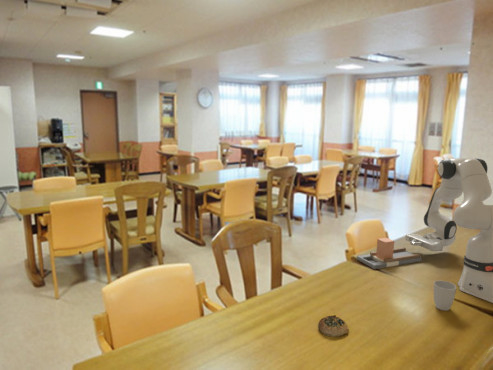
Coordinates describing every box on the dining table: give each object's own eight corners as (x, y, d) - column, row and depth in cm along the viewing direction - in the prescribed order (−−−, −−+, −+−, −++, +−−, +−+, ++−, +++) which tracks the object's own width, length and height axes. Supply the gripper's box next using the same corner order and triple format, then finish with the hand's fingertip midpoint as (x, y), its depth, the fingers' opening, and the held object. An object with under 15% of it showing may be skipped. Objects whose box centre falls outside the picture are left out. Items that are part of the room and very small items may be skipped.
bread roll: (326, 317, 142) (328, 306, 141) (353, 331, 136) (355, 319, 134) (311, 330, 134) (313, 319, 133) (339, 346, 127) (341, 334, 126)
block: (392, 258, 197) (394, 241, 196) (383, 260, 195) (385, 242, 193) (384, 254, 203) (386, 237, 201) (376, 256, 201) (377, 238, 199)
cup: (457, 312, 147) (460, 289, 145) (437, 312, 147) (439, 289, 145) (447, 302, 155) (449, 280, 153) (427, 302, 155) (430, 280, 153)
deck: (421, 261, 200) (422, 255, 199) (374, 269, 188) (374, 262, 188) (402, 252, 213) (402, 246, 212) (356, 259, 201) (357, 253, 201)
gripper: (416, 230, 219) (398, 232, 214) (446, 241, 200) (427, 244, 195) (415, 240, 220) (397, 242, 215) (444, 252, 202) (426, 255, 196)
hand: (411, 243), depth 205 cm, fingers closed
